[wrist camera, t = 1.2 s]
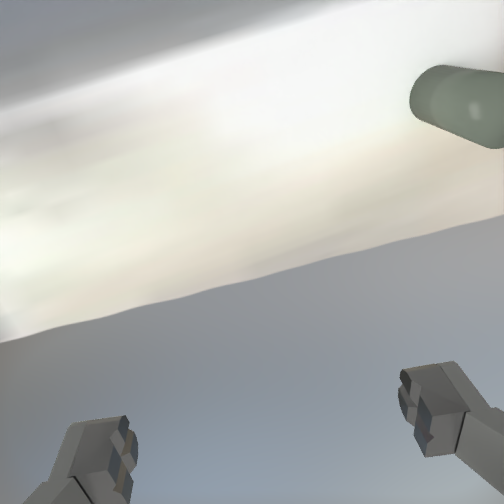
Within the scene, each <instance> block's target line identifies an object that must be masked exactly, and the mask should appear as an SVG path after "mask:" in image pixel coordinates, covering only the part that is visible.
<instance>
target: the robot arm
mask: <svg viewBox="0 0 504 504" xmlns="http://www.w3.org/2000/svg"><path fill="white" fill-rule="evenodd" d="M400 380H401V382H402V383H403V384H402V385H401V386H400V388H399V389H398V398H399V404H400V407H401V410H402V413H403V415H404V417H405V419H406V421H407V422H409V423H410V424H412V425H413V426H414V427H415V429H414V437H415V439H416V441H417V443H418V445H419V447H420V449H421V451H422V453H423V455H424V457H433V456H440V455H447V454H455V453H456V454H455V455H456V456H457V457H458V458H459V459H461V460H462V461H463V462H464V463H465V464H467V465H468V466H469V467H470V468H471V469H473V470H474V471H475V472H476V473H478V474H479V475H480V476H481V477H482V478H483V479H485V480H486V481H487V482H488V483H489V484H491V485H492V486H493V487H494V488H495V489H497V490H498V491H499V492H500V493H501V494H503V495H504V412H503V411H502V410H500V409H498V408H496V407H495V408H491V407H490V406H489V405H488V403H487V402H486V401H485V399H484V398H483V397H482V395H481V394H480V393H479V392H478V390H477V389H476V388H475V386H474V385H473V384H472V382H471V381H470V380H469V378H468V377H467V376H466V374H465V373H464V372H463V370H462V369H461V368H460V366H459V365H458V364H457V363H456V362H454V361H449V362H443V363H437V364H429V365H423V366H418V367H412V368H407V369H402V371H401V372H400ZM128 427H129V421H128V419H127V417H126V415H124V416H117V417H109V418H102V419H95V420H87V421H81V422H74V423H72V424H71V425H70V426H69V427H68V429H67V431H66V434H65V437H64V439H63V442H62V445H61V447H60V450H59V453H58V456H57V458H56V461H55V463H54V466H53V469H52V471H51V474H50V477H49V479H48V481H46V482H42V484H40V485H39V487H38V488H37V489H36V490H35V491H34V492H33V493H32V494H31V495H30V496H29V497H28V498H27V499H26V501H25V502H24V503H23V504H129V503H130V498H131V493H132V487H133V480H132V478H131V476H130V473H131V472H132V471H133V469H134V468H135V467H136V464H137V459H138V442H137V437H136V435H135V433H134V431H132V430H130V429H128Z"/></svg>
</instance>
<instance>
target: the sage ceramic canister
mask: <svg viewBox="0 0 504 504" xmlns="http://www.w3.org/2000/svg"><path fill="white" fill-rule="evenodd" d="M409 102H410V108H411V111H412V113H413V114H414V116H415V117H416V118H418V119H419V120H421V121H424V122H426V123H429V124H431V125H433V126H436V127H438V128H441V129H443V130H445V131H448V132H450V133H453V134H455V135H457V136H460V137H462V138H465V139H467V140H469V141H472V142H474V143H477V144H479V145H481V146H484V147H486V148H491V149H499V148H504V73H500V72H493V71H485V70H478V69H470V68H463V67H455V66H448V65H438V66H434V67H431V68H430V69H428V70H426V71H425V72H424V73H422V74H421V75H420V76H419V78H418V79H417V80H416V82H415V83H414V85H413V87H412V90H411V93H410V100H409Z"/></svg>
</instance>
